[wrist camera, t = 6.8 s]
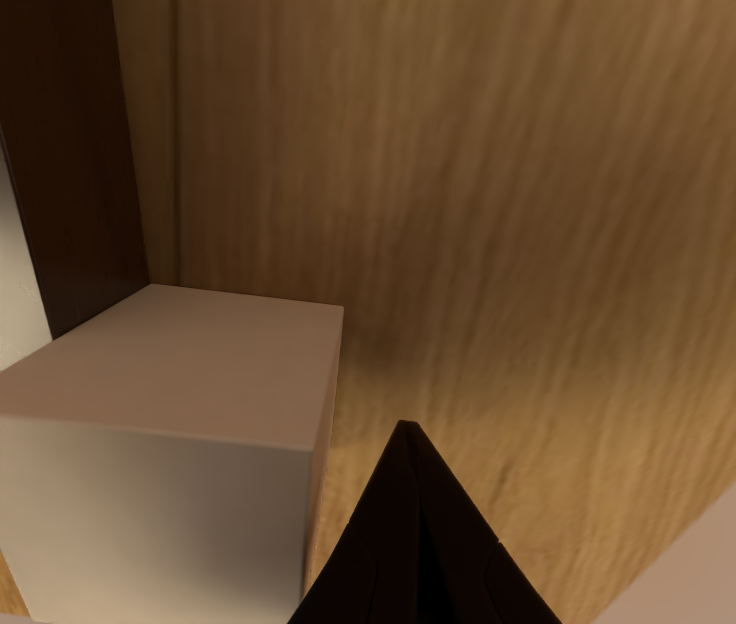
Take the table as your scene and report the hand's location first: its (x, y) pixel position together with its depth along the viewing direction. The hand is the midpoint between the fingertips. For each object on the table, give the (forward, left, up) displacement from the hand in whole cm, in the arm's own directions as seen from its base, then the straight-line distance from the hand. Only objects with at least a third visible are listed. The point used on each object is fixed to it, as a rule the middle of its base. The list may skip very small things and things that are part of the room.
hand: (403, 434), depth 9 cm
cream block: (+4, 0, -2) cm, 5 cm away
